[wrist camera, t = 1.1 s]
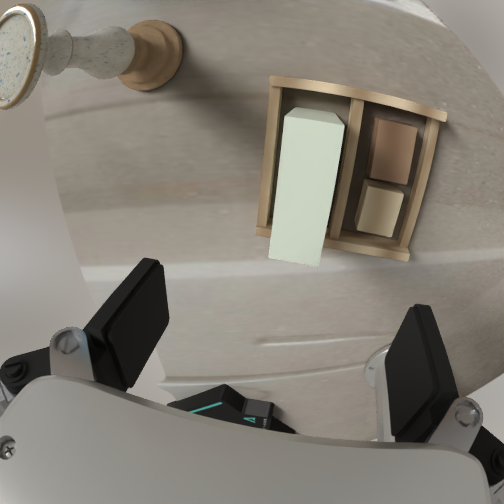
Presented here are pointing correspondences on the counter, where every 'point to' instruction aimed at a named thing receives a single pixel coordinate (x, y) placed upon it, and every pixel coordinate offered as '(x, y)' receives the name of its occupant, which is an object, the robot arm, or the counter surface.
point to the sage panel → (305, 184)
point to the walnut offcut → (391, 150)
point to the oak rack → (349, 167)
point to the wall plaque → (232, 409)
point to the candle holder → (82, 53)
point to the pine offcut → (378, 208)
